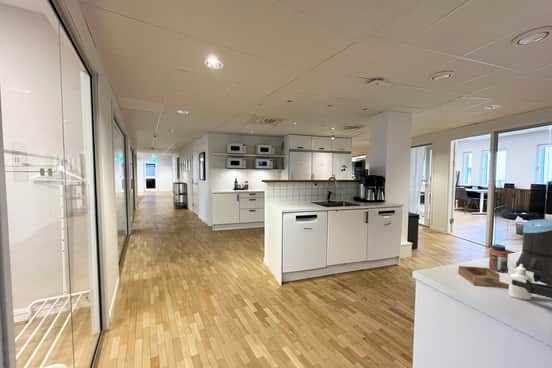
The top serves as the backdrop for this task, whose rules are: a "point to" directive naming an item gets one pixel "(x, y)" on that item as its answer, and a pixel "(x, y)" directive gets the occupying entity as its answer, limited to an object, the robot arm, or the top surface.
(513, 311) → the top surface
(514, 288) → the eye dropper bottle
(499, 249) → the supplement bottle
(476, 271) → the holder
